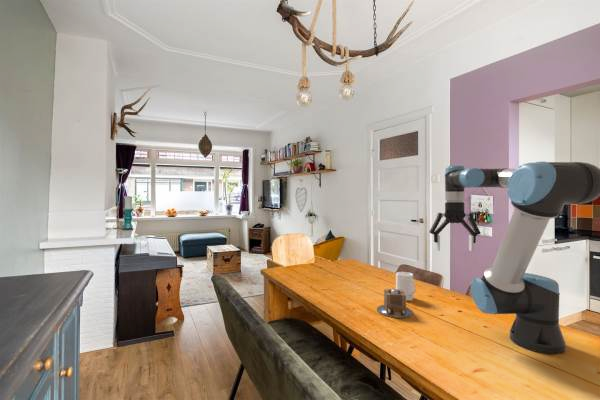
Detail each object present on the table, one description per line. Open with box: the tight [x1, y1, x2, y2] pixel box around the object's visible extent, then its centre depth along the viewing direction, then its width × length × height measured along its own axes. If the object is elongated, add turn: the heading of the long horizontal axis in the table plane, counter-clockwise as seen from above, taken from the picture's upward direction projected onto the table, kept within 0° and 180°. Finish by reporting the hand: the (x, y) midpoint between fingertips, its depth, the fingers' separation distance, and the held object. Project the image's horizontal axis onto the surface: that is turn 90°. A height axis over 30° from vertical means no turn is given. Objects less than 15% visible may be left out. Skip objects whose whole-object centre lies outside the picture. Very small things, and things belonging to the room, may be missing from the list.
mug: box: [395, 271, 417, 302], centre depth 151 cm, size 12×8×12 cm
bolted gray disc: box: [376, 288, 414, 319], centre depth 135 cm, size 15×15×9 cm
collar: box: [383, 288, 407, 319], centre depth 133 cm, size 12×8×8 cm, turn 172°
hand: (454, 250), depth 134 cm, fingers open, 13 cm apart
